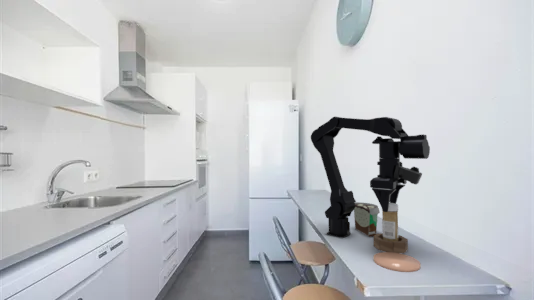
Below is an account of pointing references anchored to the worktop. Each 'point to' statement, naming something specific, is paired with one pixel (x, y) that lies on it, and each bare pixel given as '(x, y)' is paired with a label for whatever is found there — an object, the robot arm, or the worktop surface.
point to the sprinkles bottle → (390, 223)
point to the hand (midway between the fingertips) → (389, 209)
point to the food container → (366, 218)
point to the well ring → (390, 244)
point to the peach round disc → (396, 262)
